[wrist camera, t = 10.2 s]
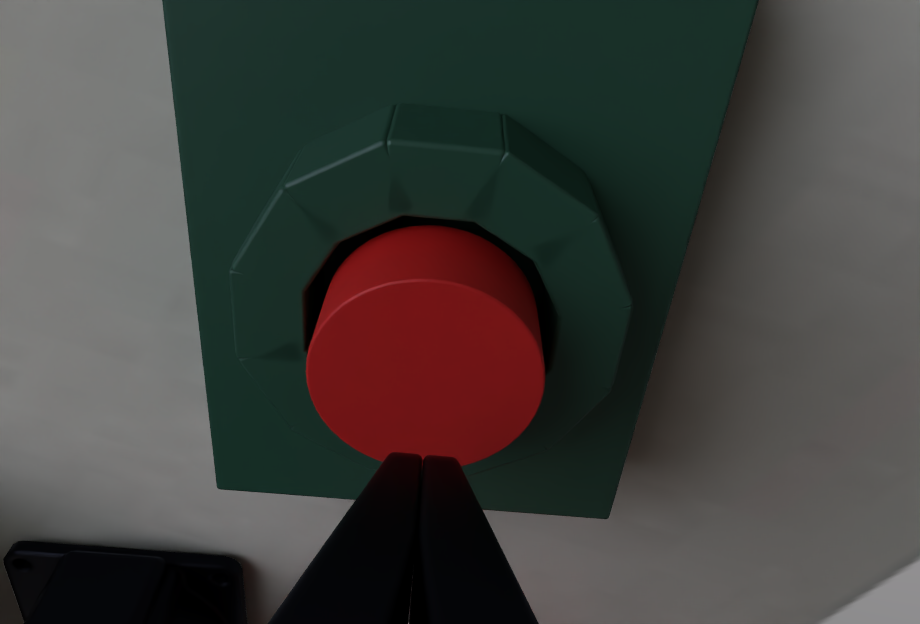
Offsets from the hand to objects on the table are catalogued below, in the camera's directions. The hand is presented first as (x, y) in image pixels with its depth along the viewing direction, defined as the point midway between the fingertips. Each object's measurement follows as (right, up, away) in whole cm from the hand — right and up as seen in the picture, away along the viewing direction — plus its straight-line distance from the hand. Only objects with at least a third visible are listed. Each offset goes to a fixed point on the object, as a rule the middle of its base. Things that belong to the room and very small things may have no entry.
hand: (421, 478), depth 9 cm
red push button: (0, +2, +3) cm, 4 cm away
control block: (0, +4, +6) cm, 7 cm away
